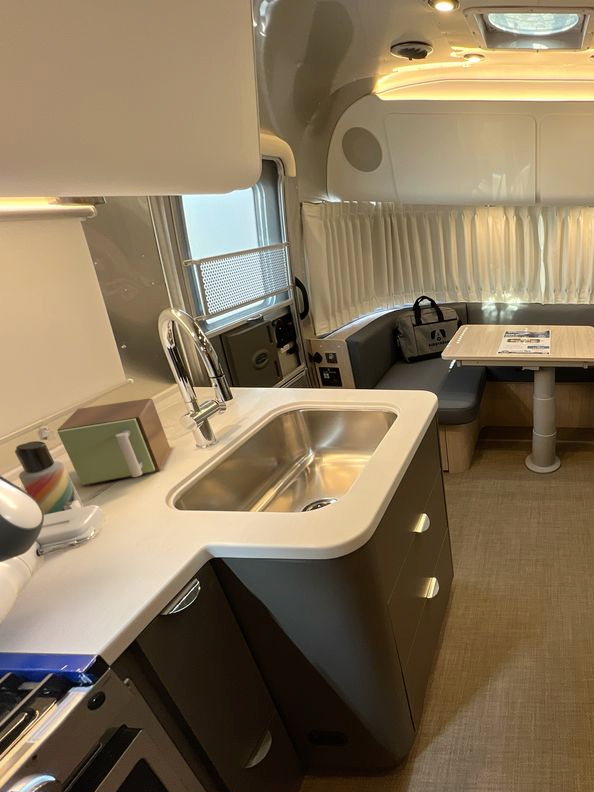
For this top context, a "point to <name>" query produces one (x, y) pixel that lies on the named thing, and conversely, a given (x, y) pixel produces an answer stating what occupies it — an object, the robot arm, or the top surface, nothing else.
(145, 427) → the cabinet
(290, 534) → the top surface
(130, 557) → the top surface
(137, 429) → the door
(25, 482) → the lotion bottle
